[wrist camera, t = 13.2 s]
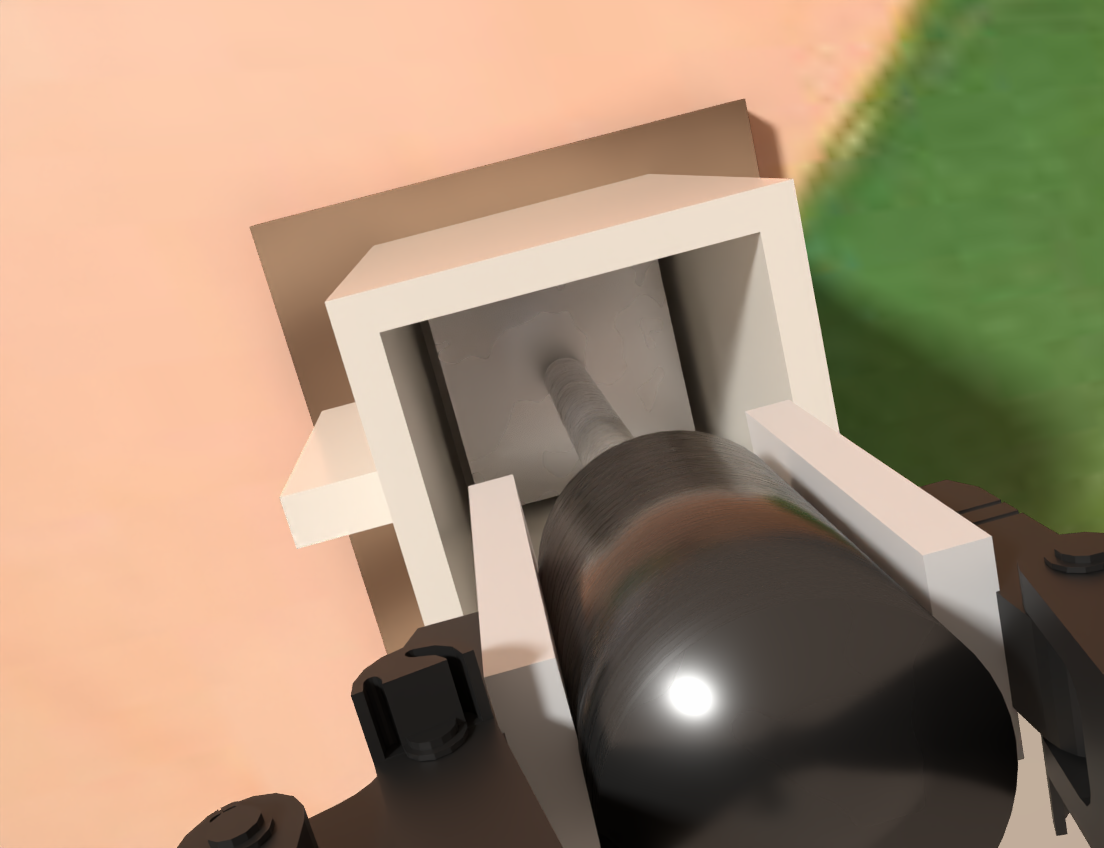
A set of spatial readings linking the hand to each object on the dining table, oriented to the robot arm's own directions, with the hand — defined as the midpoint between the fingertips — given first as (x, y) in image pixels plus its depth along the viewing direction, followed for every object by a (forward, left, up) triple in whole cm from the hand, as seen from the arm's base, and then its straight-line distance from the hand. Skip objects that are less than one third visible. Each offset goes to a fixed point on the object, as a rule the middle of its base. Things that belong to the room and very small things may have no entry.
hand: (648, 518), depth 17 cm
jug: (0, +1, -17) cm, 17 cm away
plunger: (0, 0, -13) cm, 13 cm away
